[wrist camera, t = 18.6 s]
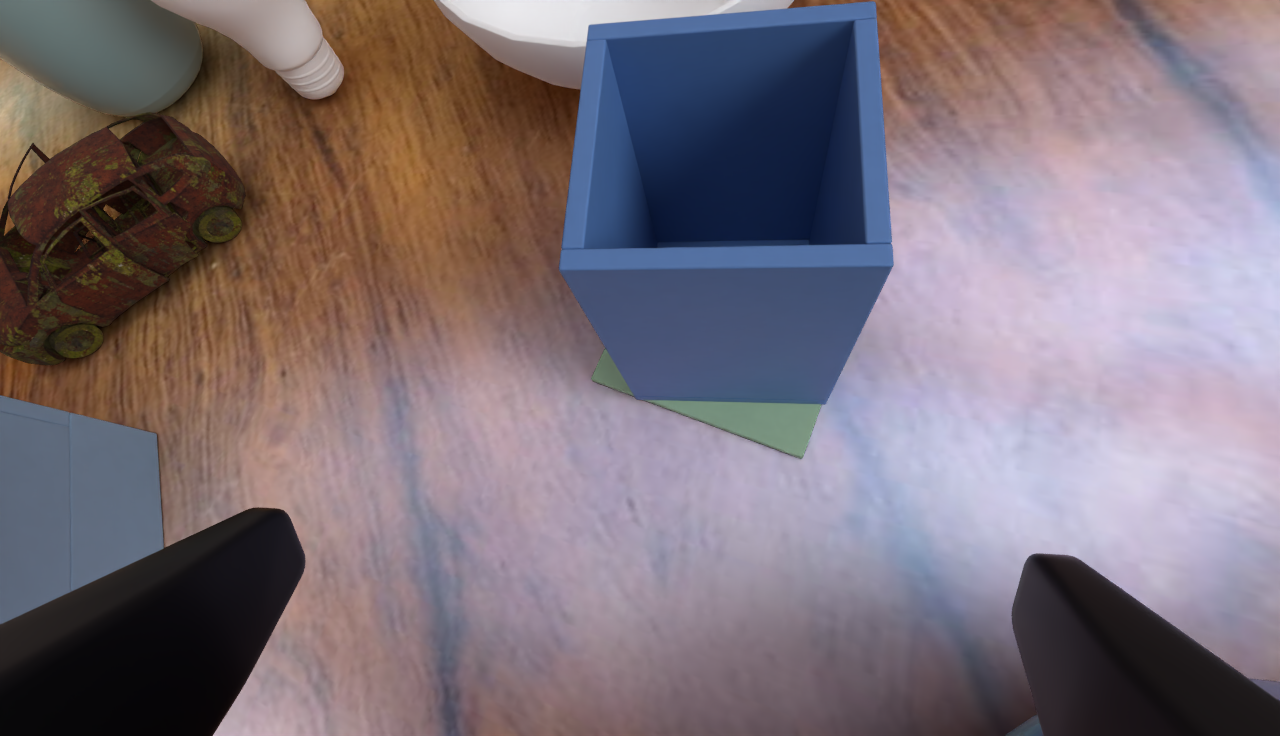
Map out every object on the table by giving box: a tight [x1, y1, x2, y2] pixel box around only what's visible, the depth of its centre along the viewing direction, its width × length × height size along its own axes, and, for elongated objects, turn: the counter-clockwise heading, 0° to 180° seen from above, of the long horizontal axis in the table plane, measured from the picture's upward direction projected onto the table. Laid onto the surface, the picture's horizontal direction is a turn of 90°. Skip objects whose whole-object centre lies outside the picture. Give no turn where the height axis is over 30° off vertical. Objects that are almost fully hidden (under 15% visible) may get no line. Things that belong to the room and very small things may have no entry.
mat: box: [591, 348, 822, 459], centre depth 23 cm, size 8×8×1 cm
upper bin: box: [559, 2, 894, 404], centre depth 18 cm, size 7×7×10 cm
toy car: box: [0, 112, 246, 365], centre depth 26 cm, size 12×7×5 cm, turn 133°
